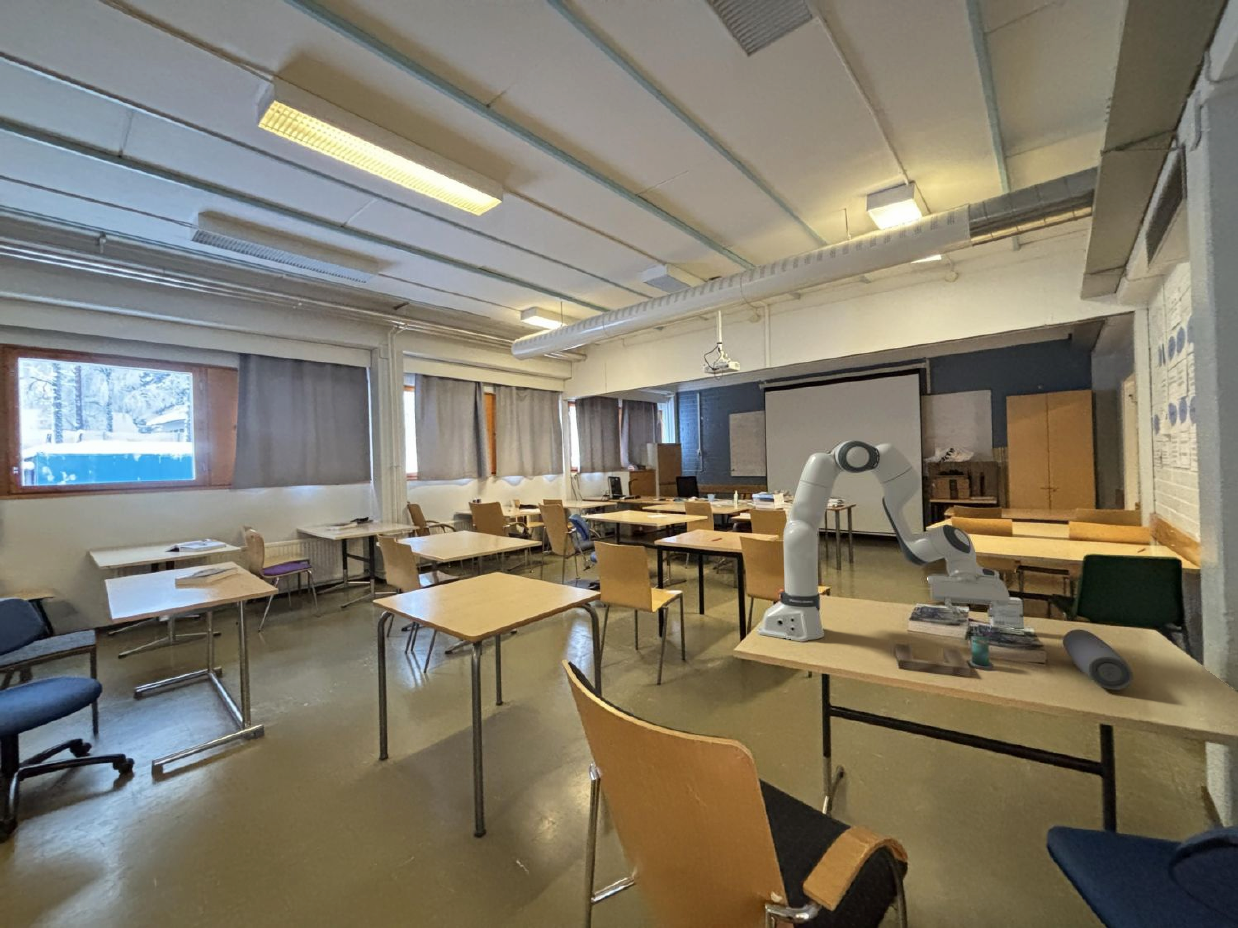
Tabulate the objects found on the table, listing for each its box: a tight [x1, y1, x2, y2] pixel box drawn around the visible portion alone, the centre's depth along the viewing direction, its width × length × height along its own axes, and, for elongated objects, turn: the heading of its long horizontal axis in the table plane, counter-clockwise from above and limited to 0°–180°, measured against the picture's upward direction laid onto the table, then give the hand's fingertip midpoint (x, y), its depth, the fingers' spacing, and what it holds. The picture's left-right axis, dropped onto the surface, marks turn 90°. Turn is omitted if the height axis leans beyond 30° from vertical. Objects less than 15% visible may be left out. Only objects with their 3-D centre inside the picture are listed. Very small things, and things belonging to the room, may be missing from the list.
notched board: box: [893, 643, 971, 678], centre depth 145 cm, size 17×14×2 cm
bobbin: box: [967, 635, 995, 671], centre depth 142 cm, size 6×6×8 cm
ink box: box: [989, 596, 1025, 630], centre depth 169 cm, size 9×5×12 cm, turn 61°
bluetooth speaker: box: [1062, 628, 1134, 691], centre depth 133 cm, size 23×9×10 cm, turn 151°
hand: (972, 614), depth 150 cm, fingers open, 8 cm apart
